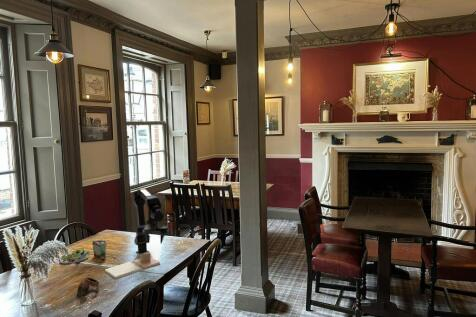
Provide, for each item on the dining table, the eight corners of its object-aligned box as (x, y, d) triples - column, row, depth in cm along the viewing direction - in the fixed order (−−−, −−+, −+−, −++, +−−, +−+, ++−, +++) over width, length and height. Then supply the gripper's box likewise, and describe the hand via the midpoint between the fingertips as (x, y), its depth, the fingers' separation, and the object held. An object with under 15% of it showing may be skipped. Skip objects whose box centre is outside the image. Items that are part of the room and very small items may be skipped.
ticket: (105, 271, 197) (104, 269, 197) (131, 263, 208) (130, 261, 208) (115, 278, 187) (115, 276, 187) (142, 269, 198) (142, 267, 198)
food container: (111, 258, 218) (110, 242, 217) (101, 260, 213) (100, 245, 212) (102, 253, 226) (101, 238, 225) (93, 256, 222) (92, 241, 221)
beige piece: (131, 263, 208) (131, 253, 208) (148, 257, 216) (147, 248, 215) (143, 269, 198) (142, 259, 198) (159, 263, 206) (159, 253, 205)
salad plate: (91, 262, 213) (91, 254, 212) (59, 268, 205) (59, 260, 204) (89, 252, 230) (88, 245, 229) (59, 257, 222) (58, 250, 221)
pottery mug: (77, 291, 175) (85, 275, 177) (95, 297, 176) (102, 282, 178) (71, 295, 163) (79, 278, 165) (90, 303, 164) (98, 286, 166)
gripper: (132, 221, 198) (133, 247, 199) (162, 222, 195) (163, 248, 196) (140, 215, 208) (141, 240, 210) (169, 216, 205) (170, 242, 207)
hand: (153, 243), depth 206 cm, fingers open, 9 cm apart
